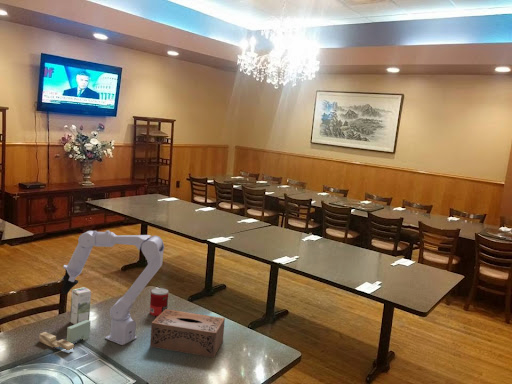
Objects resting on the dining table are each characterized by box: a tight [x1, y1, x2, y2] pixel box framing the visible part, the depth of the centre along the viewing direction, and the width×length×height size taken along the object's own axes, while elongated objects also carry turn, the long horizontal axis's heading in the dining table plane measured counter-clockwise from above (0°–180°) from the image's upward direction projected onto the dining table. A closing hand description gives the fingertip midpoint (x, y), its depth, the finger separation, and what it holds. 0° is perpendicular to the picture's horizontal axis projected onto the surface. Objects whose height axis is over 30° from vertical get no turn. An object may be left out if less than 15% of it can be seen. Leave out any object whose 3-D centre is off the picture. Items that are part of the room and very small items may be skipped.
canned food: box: [149, 287, 169, 318], centre depth 195 cm, size 8×8×11 cm
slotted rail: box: [38, 331, 75, 350], centre depth 157 cm, size 16×2×3 cm, turn 62°
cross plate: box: [66, 319, 91, 343], centre depth 163 cm, size 9×2×7 cm, turn 152°
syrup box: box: [69, 286, 92, 325], centre depth 178 cm, size 6×6×14 cm
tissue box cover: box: [149, 308, 226, 358], centre depth 169 cm, size 26×14×10 cm, turn 81°
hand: (64, 288), depth 167 cm, fingers open, 7 cm apart
